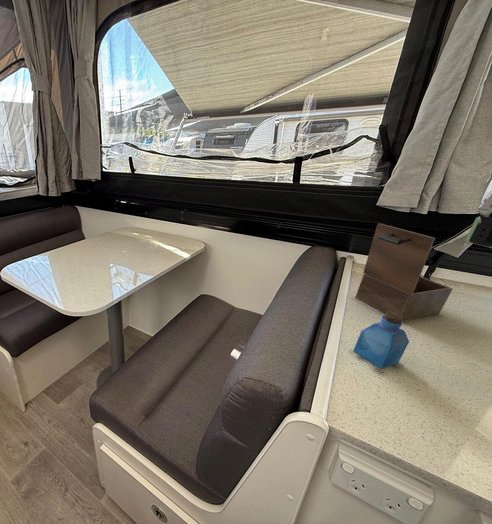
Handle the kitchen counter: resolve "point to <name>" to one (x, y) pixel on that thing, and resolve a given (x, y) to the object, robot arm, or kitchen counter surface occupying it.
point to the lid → (398, 257)
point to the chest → (404, 297)
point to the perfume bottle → (383, 341)
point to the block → (472, 231)
